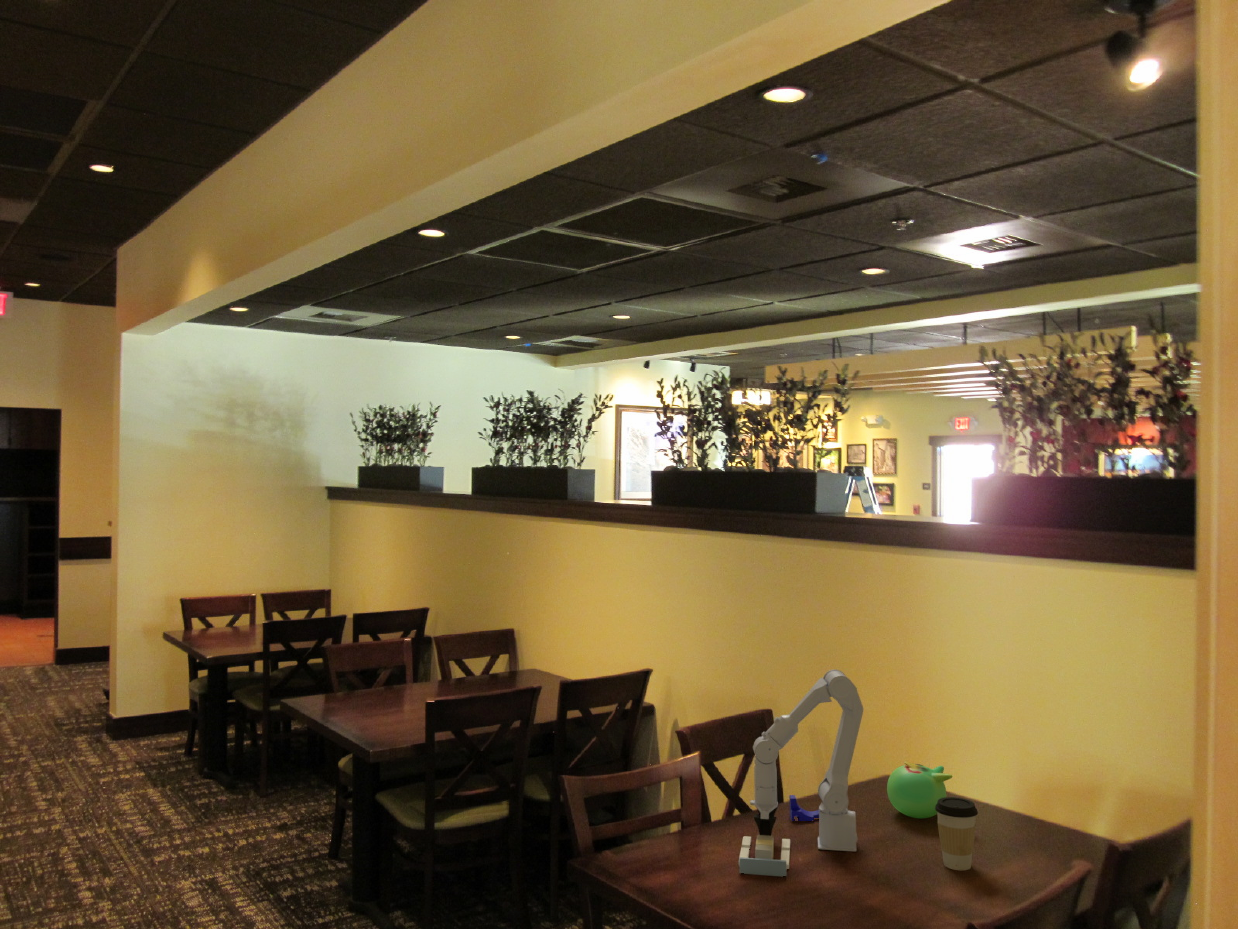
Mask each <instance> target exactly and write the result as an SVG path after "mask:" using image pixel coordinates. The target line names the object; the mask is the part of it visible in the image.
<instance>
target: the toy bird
mask: <svg viewBox="0 0 1238 929" xmlns="http://www.w3.org/2000/svg"><path fill="white" fill-rule="evenodd" d="M903 763H904V764H903V765H900V766H899V767H896V768H895V769H894V770H893V771H892V772H891V774H890V775H889V777H888V780H887V786H886V792H887V796H888V800H889V802H890V804H891V805H892V806H893V807H894V809H896V810H897V811H898V812H900V813H901V814H903V815H904V816H906V817H910V818H914V819H929V818H932V817H934V816H936V815H937V811H936V810H935V806H936V804H937V802H938V800H939V799H941V798H945V797H947V789H946V785H945V782H946V781H948V780H950V779H952V778H953V774H950V773H944V771H945V767H944V765H938V766H936V767H934V768H930V767H927V766H925V765H923V764H920V763H912V762H909V761H906V760H904V761H903Z"/></svg>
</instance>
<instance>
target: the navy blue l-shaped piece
mask: <svg viewBox="0 0 1238 929" xmlns="http://www.w3.org/2000/svg"><path fill="white" fill-rule="evenodd" d="M788 797H789V818H790V821H791V820H792V821H795V819H794V817H795V816H796V817H797V818H798V821H812V820H813V821H815V820H814V818H819V809H817V810H814V811H812V810H811V811H809V810H805V809H804V808H802V807H801V806H800V805H799V804H798V802H797V797H796V795H795V794H789V796H788ZM792 821H791V822H792Z"/></svg>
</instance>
